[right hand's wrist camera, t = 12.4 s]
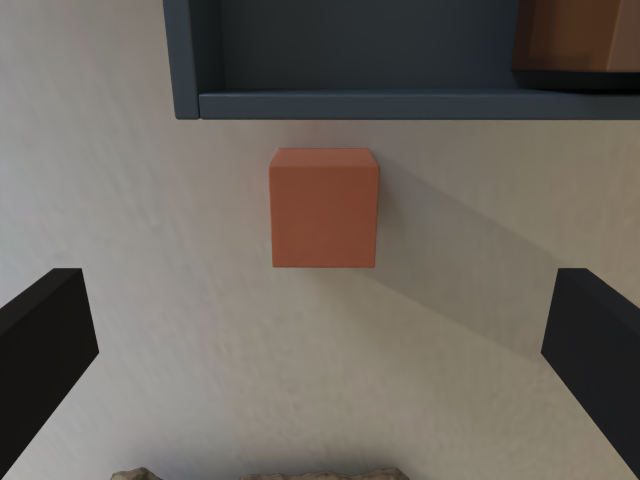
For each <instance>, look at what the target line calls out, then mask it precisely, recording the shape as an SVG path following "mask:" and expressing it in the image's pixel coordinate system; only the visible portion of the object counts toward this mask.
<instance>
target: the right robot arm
mask: <svg viewBox="0 0 640 480" xmlns="http://www.w3.org/2000/svg"><path fill="white" fill-rule="evenodd" d="M98 354H99V349H98V344H97V340H96V335H95V330H94V325H93V320H92V316H91V311H90V306H89V301H88V297H87V292H86V287H85V282H84V277H83V273H82V268H54V269H52V270H51V271H50V272H48V273H47V274H46V275H44V276H43V277H42V278H40V279H39V280H38V281H36V282H35V283H34V284H32V285H31V286H30V287H28V288H27V289H26V290H24V291H23V292H22V293H20V294H19V295H18V296H17V297H15V298H14V299H13V300H11V301H10V302H9V303H7V304H6V305H5V306H3V307H2V308H1V309H0V480H1V479H2V478H3V477H4V475H5V474H6V473H7V472H8V470H9V469H10V468H11V466H12V465H13V464H14V463H15V461H16V460H17V459H18V457H19V456H20V455H21V453H22V452H23V451H24V450H25V448H26V447H27V446H28V444H29V443H30V442H31V441H32V439H33V438H34V437H35V435H36V434H37V433H38V431H39V430H40V429H41V428H42V426H43V425H44V424H45V422H46V421H47V420H48V418H49V417H50V416H51V415H52V413H53V412H54V411H55V409H56V408H57V407H58V406H59V404H60V403H61V402H62V400H63V399H64V398H65V396H66V395H67V394H68V393H69V391H70V390H71V389H72V387H73V386H74V385H75V384H76V382H77V381H78V380H79V378H80V377H81V376H82V374H83V373H84V372H85V371H86V369H87V368H88V367H89V365H90V364H91V363H92V361H93V360H94V359H95V358H96V356H97V355H98ZM541 354H542V355H543V356H544V358H545V359H546V360H547V361H548V363H549V364H550V365H551V367H552V368H553V369H554V371H555V372H556V373H557V374H558V376H559V377H560V378H561V380H562V381H563V382H564V384H565V385H566V386H567V387H568V389H569V390H570V391H571V393H572V394H573V395H574V396H575V398H576V399H577V400H578V402H579V403H580V404H581V406H582V407H583V408H584V409H585V411H586V412H587V413H588V415H589V416H590V417H591V418H592V420H593V421H594V422H595V424H596V425H597V426H598V428H599V429H600V430H601V431H602V433H603V434H604V435H605V437H606V438H607V439H608V441H609V442H610V443H611V444H612V446H613V447H614V448H615V450H616V451H617V452H618V453H619V455H620V456H621V457H622V459H623V460H624V461H625V463H626V464H627V465H628V466H629V468H630V469H631V470H632V472H633V473H634V474H635V475H636V477H637V478H638V479H639V480H640V309H639V308H638V307H637V306H635V305H634V304H633V303H631V302H630V301H629V300H627V299H626V298H625V297H623V296H622V295H621V294H620V293H618V292H617V291H616V290H614V289H613V288H612V287H610V286H609V285H608V284H606V283H605V282H604V281H602V280H601V279H600V278H598V277H597V276H596V275H594V274H593V273H592V272H590V271H589V270H588V269H586V268H558V273H557V277H556V282H555V287H554V292H553V296H552V301H551V306H550V311H549V316H548V320H547V325H546V330H545V335H544V340H543V344H542V349H541Z"/></svg>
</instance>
